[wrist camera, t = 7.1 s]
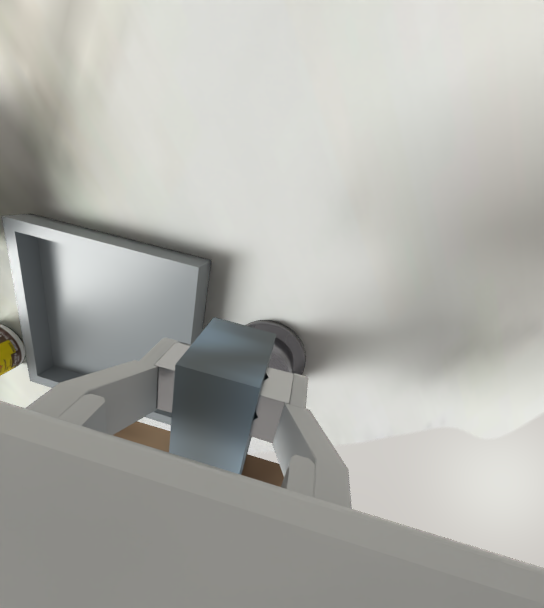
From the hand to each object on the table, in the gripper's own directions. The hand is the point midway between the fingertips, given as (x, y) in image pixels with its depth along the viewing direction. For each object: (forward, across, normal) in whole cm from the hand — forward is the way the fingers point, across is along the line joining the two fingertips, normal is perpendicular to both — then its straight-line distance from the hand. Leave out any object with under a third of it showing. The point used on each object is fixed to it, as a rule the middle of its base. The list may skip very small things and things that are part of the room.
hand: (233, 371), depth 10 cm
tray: (+14, +15, +9) cm, 22 cm away
